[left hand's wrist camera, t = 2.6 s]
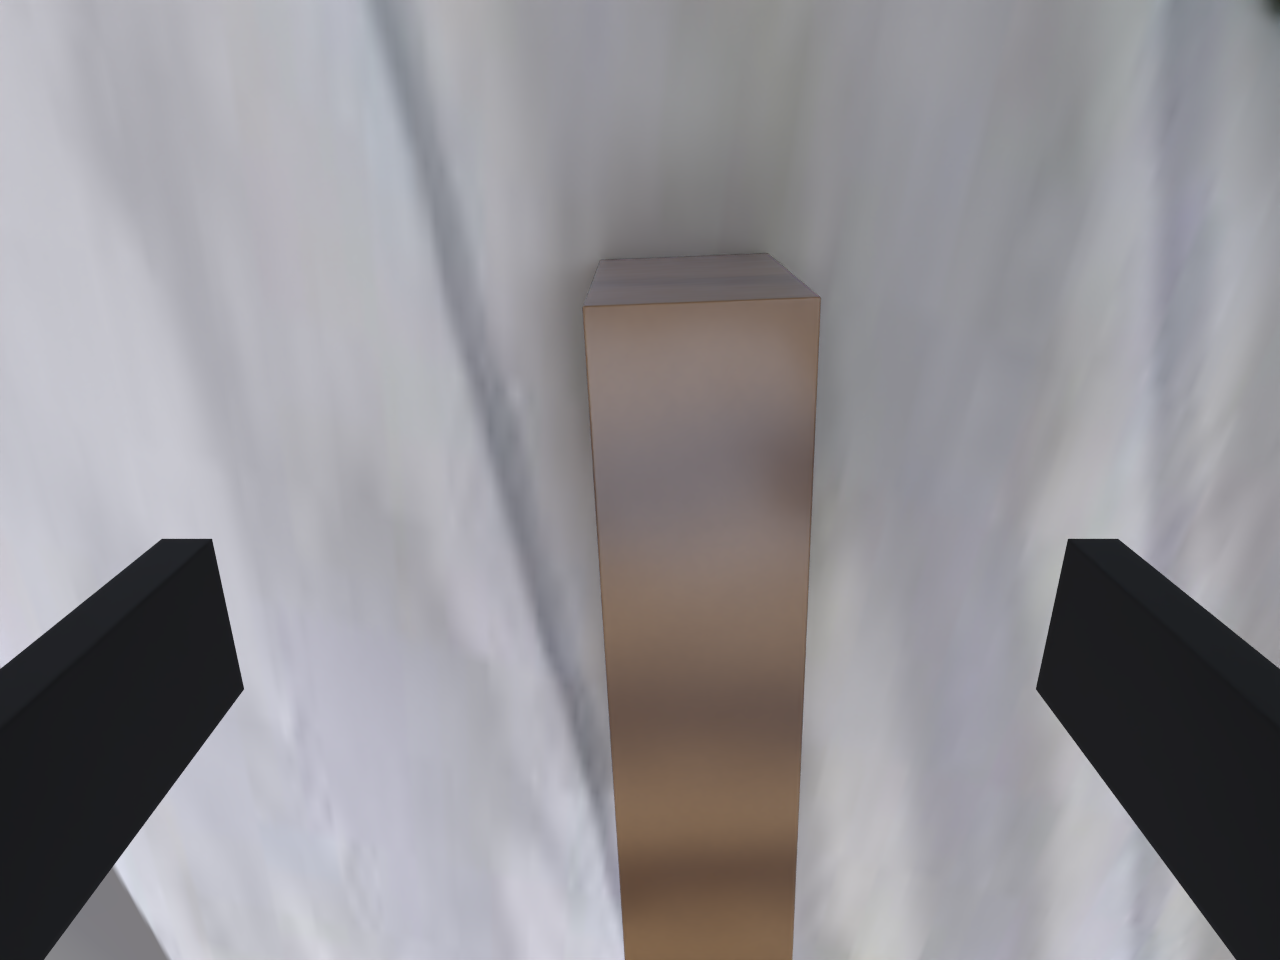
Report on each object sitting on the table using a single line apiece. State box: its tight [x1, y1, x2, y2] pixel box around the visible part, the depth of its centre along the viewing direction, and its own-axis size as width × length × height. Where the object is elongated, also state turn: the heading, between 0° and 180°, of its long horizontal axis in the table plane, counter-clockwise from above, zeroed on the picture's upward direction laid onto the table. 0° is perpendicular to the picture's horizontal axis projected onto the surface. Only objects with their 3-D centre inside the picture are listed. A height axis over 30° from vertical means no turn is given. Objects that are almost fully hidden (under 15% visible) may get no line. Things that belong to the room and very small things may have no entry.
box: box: [583, 253, 821, 960], centre depth 29 cm, size 24×6×9 cm, turn 2°
